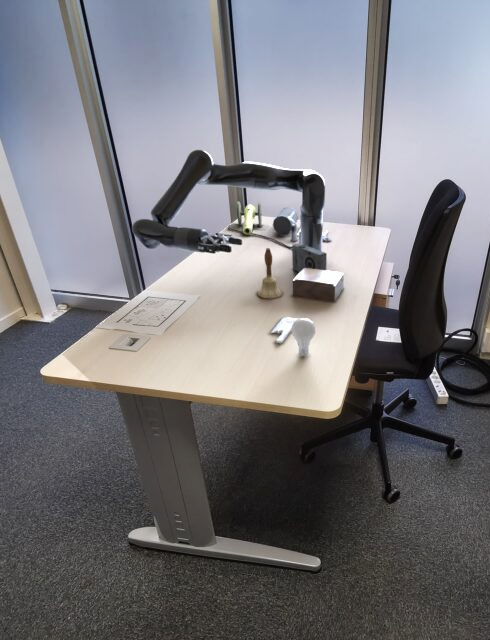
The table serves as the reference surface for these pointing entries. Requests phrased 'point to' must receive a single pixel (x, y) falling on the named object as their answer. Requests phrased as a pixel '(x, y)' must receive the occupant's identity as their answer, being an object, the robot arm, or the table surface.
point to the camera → (307, 258)
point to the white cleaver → (284, 328)
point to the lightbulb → (303, 334)
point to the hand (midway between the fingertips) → (236, 245)
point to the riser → (318, 284)
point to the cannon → (248, 217)
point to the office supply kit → (289, 224)
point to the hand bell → (269, 280)
